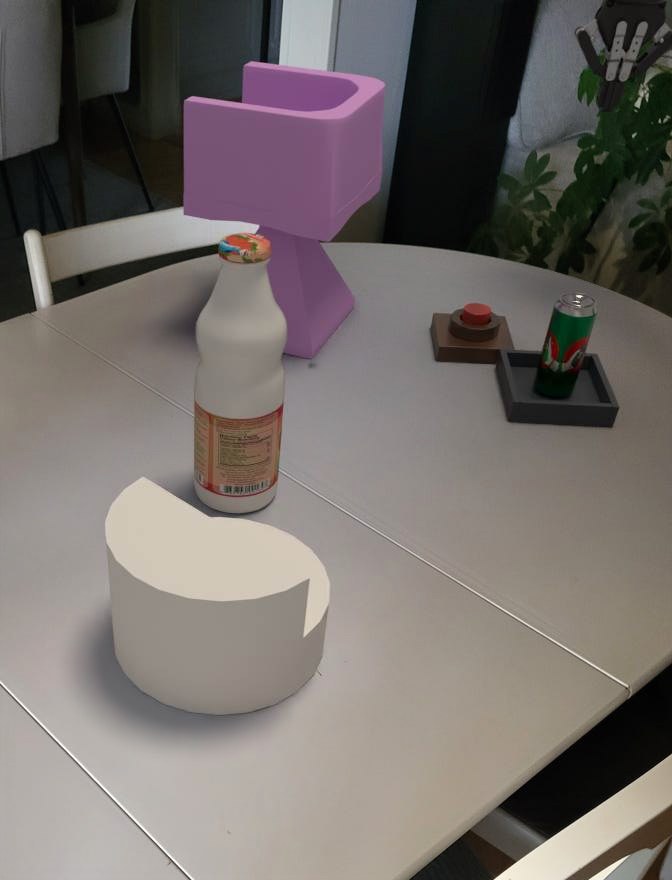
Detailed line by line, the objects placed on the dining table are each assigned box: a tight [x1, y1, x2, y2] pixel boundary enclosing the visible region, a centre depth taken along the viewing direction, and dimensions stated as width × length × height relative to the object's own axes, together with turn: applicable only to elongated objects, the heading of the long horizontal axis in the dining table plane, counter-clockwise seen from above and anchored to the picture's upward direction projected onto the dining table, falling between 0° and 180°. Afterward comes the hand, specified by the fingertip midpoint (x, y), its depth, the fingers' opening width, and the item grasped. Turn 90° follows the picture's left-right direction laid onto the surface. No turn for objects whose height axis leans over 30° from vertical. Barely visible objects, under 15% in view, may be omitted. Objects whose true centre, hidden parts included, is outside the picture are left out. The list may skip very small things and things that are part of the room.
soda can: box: [533, 291, 599, 398], centre depth 121 cm, size 5×5×12 cm
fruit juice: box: [193, 232, 287, 514], centre depth 100 cm, size 9×9×28 cm
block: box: [430, 307, 516, 365], centre depth 134 cm, size 10×10×4 cm
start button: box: [462, 302, 492, 326], centre depth 132 cm, size 4×4×2 cm
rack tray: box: [494, 349, 620, 428], centre depth 124 cm, size 13×14×3 cm
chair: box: [182, 60, 386, 360], centre depth 130 cm, size 20×20×30 cm
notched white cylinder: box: [104, 476, 331, 716], centre depth 88 cm, size 20×20×13 cm
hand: (605, 110), depth 130 cm, fingers closed
